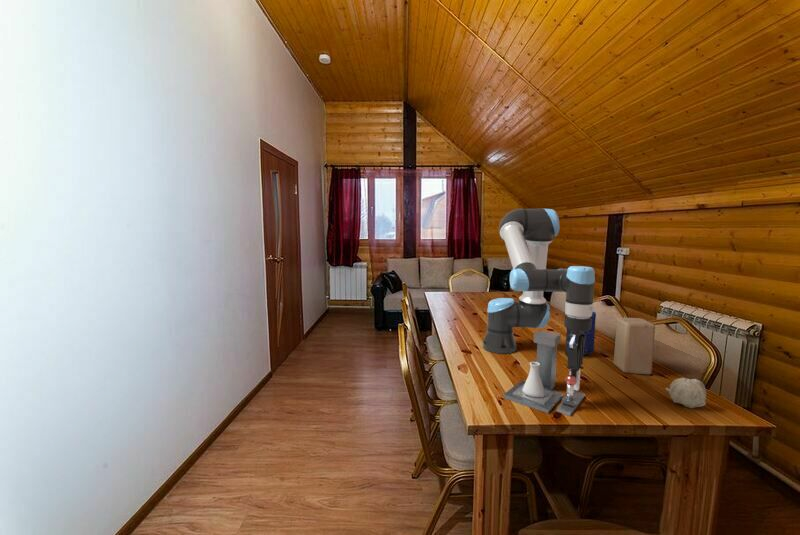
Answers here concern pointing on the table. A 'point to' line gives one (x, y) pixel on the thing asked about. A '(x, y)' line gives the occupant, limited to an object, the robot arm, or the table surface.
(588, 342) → the book
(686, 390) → the garlic bulb
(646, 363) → the wooden block
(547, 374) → the base
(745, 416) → the table surface
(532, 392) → the flask
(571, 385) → the lever
